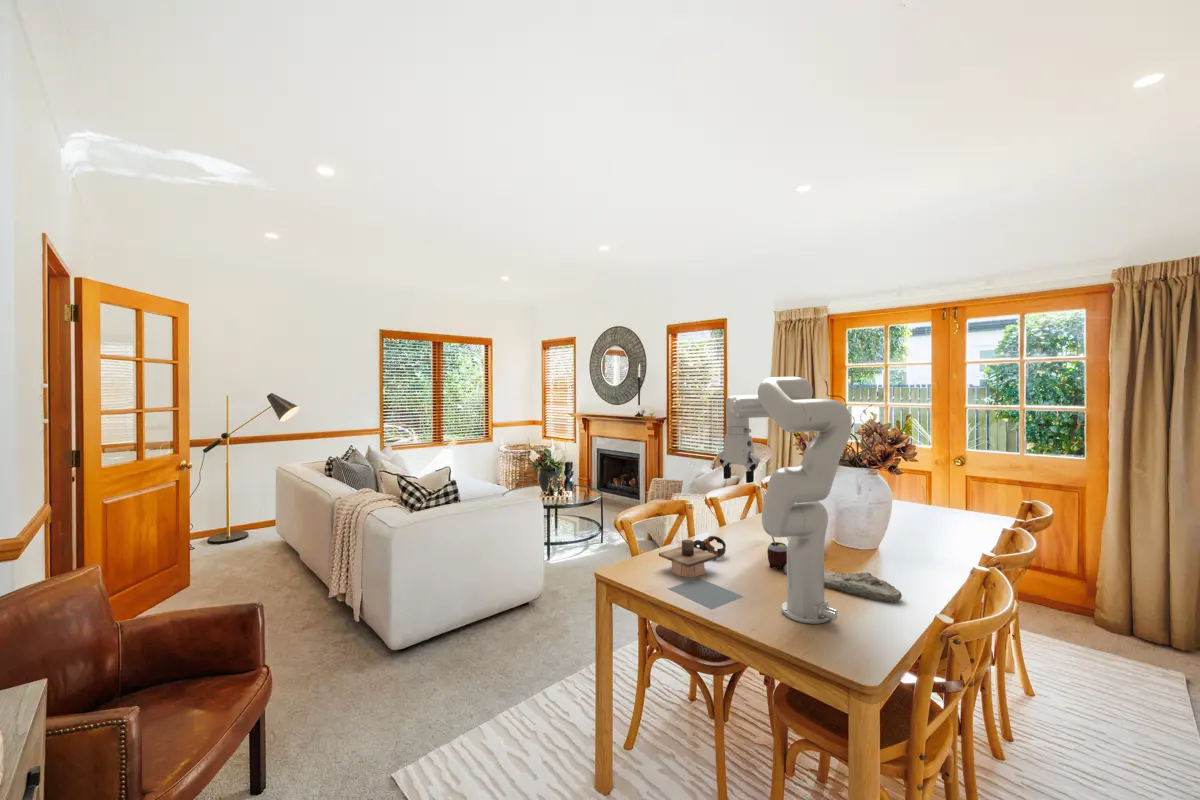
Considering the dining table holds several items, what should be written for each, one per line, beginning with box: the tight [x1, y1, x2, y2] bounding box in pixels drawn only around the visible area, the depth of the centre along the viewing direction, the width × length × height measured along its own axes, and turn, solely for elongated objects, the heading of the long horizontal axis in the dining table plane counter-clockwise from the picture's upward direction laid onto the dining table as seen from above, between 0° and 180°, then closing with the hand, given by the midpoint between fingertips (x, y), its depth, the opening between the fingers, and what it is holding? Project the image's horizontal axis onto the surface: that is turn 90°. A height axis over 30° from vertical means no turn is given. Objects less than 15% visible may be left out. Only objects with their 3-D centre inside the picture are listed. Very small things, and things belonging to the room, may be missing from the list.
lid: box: [658, 539, 719, 568], centre depth 169 cm, size 14×14×5 cm
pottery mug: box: [693, 535, 727, 561], centre depth 184 cm, size 12×10×8 cm
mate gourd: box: [766, 536, 788, 571], centre depth 172 cm, size 8×8×15 cm
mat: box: [667, 577, 744, 610], centre depth 151 cm, size 18×14×1 cm
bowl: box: [671, 561, 705, 578], centre depth 169 cm, size 11×11×5 cm
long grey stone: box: [782, 564, 903, 603], centre depth 155 cm, size 35×5×10 cm
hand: (738, 480), depth 172 cm, fingers open, 9 cm apart
